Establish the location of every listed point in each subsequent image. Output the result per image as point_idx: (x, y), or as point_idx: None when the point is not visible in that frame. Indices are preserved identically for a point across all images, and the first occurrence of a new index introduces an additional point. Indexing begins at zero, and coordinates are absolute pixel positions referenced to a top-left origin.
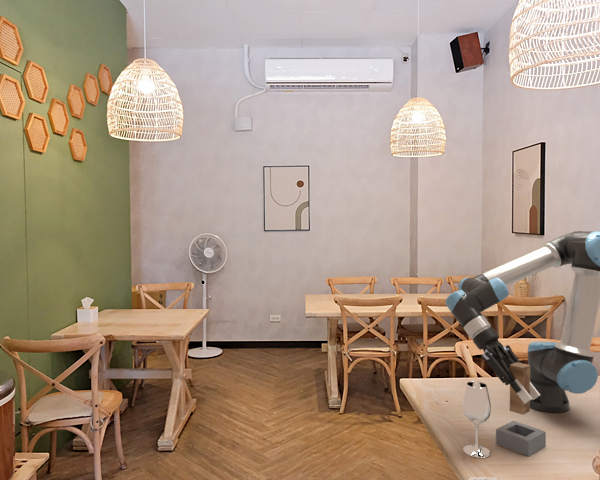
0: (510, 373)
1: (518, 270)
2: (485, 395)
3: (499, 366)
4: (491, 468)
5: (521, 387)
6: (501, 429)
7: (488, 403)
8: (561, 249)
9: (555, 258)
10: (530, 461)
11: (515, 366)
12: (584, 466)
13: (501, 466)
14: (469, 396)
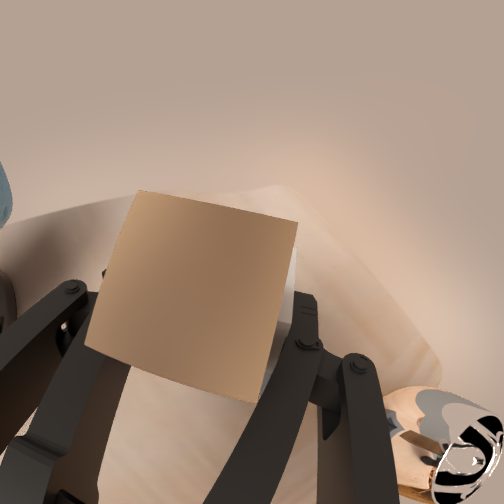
0: (292, 373)
1: None
2: (471, 402)
3: (378, 472)
4: (402, 347)
5: (292, 288)
6: (266, 384)
7: (442, 391)
8: None
9: None
10: (315, 290)
11: (273, 326)
12: (258, 192)
13: (382, 335)
14: (478, 447)
